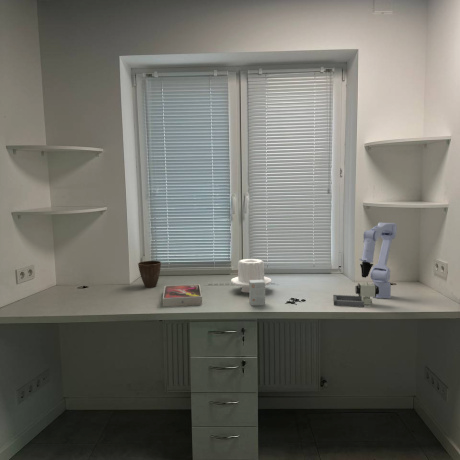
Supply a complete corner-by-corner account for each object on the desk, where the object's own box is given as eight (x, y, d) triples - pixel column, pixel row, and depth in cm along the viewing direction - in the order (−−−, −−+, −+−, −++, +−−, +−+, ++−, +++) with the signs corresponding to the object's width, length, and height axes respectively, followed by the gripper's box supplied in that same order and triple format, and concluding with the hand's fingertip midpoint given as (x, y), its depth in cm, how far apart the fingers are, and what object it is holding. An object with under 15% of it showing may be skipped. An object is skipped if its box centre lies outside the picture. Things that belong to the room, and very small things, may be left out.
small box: (263, 301, 218) (263, 279, 216) (265, 305, 211) (265, 282, 210) (249, 302, 217) (248, 279, 215) (250, 305, 210) (250, 282, 209)
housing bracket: (361, 300, 218) (361, 296, 217) (363, 306, 206) (364, 302, 206) (333, 298, 221) (333, 294, 221) (333, 305, 209) (334, 300, 209)
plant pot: (135, 288, 250) (134, 264, 249) (144, 283, 265) (143, 260, 263) (157, 289, 248) (156, 265, 246) (165, 283, 262) (164, 260, 261)
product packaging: (199, 292, 242) (199, 284, 242) (202, 305, 215) (201, 296, 214) (165, 293, 240) (164, 285, 239) (162, 307, 212) (162, 298, 211)
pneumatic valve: (378, 305, 208) (379, 283, 206) (356, 304, 209) (356, 283, 208) (376, 302, 213) (377, 281, 212) (354, 301, 215) (355, 280, 214)
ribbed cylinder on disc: (226, 294, 234) (225, 263, 232) (237, 284, 258) (237, 256, 255) (266, 297, 226) (266, 265, 224) (274, 286, 250) (274, 258, 248)
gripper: (359, 252, 216) (355, 276, 214) (362, 248, 202) (358, 274, 200) (372, 254, 214) (368, 278, 212) (376, 251, 200) (372, 277, 198)
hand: (364, 276), depth 206 cm, fingers open, 7 cm apart
